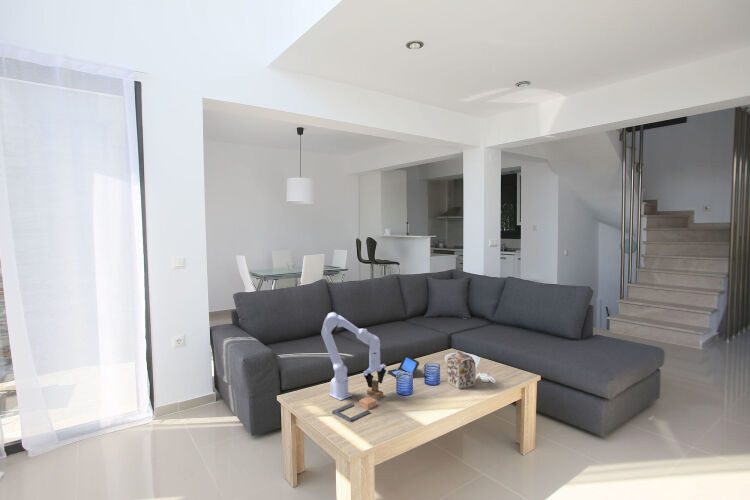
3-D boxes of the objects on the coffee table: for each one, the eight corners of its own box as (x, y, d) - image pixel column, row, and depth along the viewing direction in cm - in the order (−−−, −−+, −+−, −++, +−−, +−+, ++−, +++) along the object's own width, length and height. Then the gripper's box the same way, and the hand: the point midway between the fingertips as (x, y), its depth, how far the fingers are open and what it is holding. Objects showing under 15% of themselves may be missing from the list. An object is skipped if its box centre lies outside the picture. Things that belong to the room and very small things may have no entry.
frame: (332, 412, 199) (332, 410, 198) (351, 404, 207) (351, 402, 207) (350, 421, 189) (350, 419, 189) (369, 412, 198) (369, 410, 198)
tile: (359, 406, 206) (359, 400, 206) (368, 402, 211) (368, 396, 210) (367, 409, 202) (367, 403, 202) (376, 406, 206) (376, 400, 206)
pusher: (367, 394, 220) (366, 379, 219) (372, 392, 222) (372, 377, 222) (377, 399, 214) (377, 383, 213) (383, 396, 217) (383, 381, 216)
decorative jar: (446, 382, 235) (446, 351, 234) (462, 378, 240) (463, 348, 239) (458, 389, 224) (458, 357, 223) (476, 386, 229) (476, 354, 228)
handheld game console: (386, 373, 251) (386, 358, 250) (405, 369, 257) (405, 354, 257) (400, 381, 237) (400, 365, 237) (419, 377, 244) (419, 361, 243)
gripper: (370, 365, 209) (370, 391, 210) (389, 358, 219) (390, 383, 220) (360, 361, 214) (361, 387, 215) (380, 355, 224) (380, 379, 225)
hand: (375, 385), depth 218 cm, fingers open, 7 cm apart
